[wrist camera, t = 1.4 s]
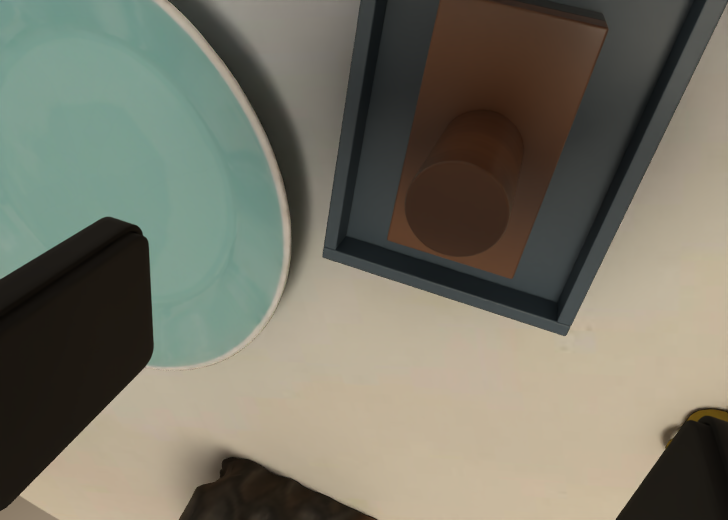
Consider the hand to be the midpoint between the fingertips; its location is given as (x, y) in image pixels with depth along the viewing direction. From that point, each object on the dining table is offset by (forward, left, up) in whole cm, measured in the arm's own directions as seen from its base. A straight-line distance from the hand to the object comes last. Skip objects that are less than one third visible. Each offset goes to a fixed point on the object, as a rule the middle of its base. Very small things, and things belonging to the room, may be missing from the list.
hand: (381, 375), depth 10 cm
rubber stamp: (0, 0, -15) cm, 15 cm away
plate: (+8, -18, -16) cm, 25 cm away
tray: (0, 0, -16) cm, 16 cm away
